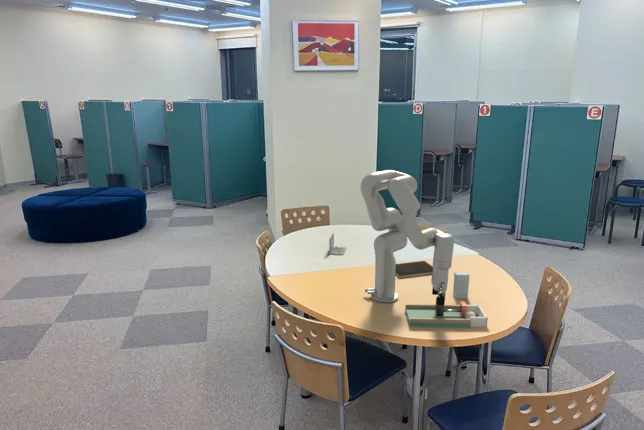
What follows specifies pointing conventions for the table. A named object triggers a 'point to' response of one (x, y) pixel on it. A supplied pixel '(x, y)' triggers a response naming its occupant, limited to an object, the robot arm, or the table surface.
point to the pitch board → (434, 316)
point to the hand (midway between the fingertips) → (437, 299)
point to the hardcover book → (413, 269)
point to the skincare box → (461, 285)
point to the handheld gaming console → (333, 249)
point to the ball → (470, 314)
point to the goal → (477, 321)
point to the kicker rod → (440, 309)
